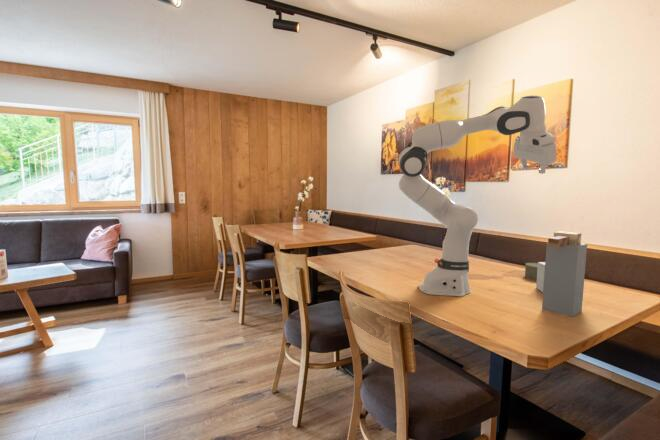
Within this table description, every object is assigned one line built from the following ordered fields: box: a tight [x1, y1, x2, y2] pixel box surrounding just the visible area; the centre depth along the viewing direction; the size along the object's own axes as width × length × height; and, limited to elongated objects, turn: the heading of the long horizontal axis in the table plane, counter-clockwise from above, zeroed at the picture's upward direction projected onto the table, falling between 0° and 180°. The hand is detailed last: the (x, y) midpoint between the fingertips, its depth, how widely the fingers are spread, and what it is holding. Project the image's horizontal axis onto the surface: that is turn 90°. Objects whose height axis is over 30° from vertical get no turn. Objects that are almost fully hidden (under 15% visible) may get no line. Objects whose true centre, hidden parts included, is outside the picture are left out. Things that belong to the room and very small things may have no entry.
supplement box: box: [535, 261, 545, 293], centre depth 151 cm, size 7×7×13 cm
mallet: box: [547, 230, 582, 248], centre depth 122 cm, size 17×7×4 cm, turn 128°
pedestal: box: [541, 242, 588, 318], centre depth 127 cm, size 10×10×26 cm
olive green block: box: [524, 262, 538, 281], centre depth 174 cm, size 12×12×7 cm
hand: (533, 170), depth 137 cm, fingers open, 8 cm apart
